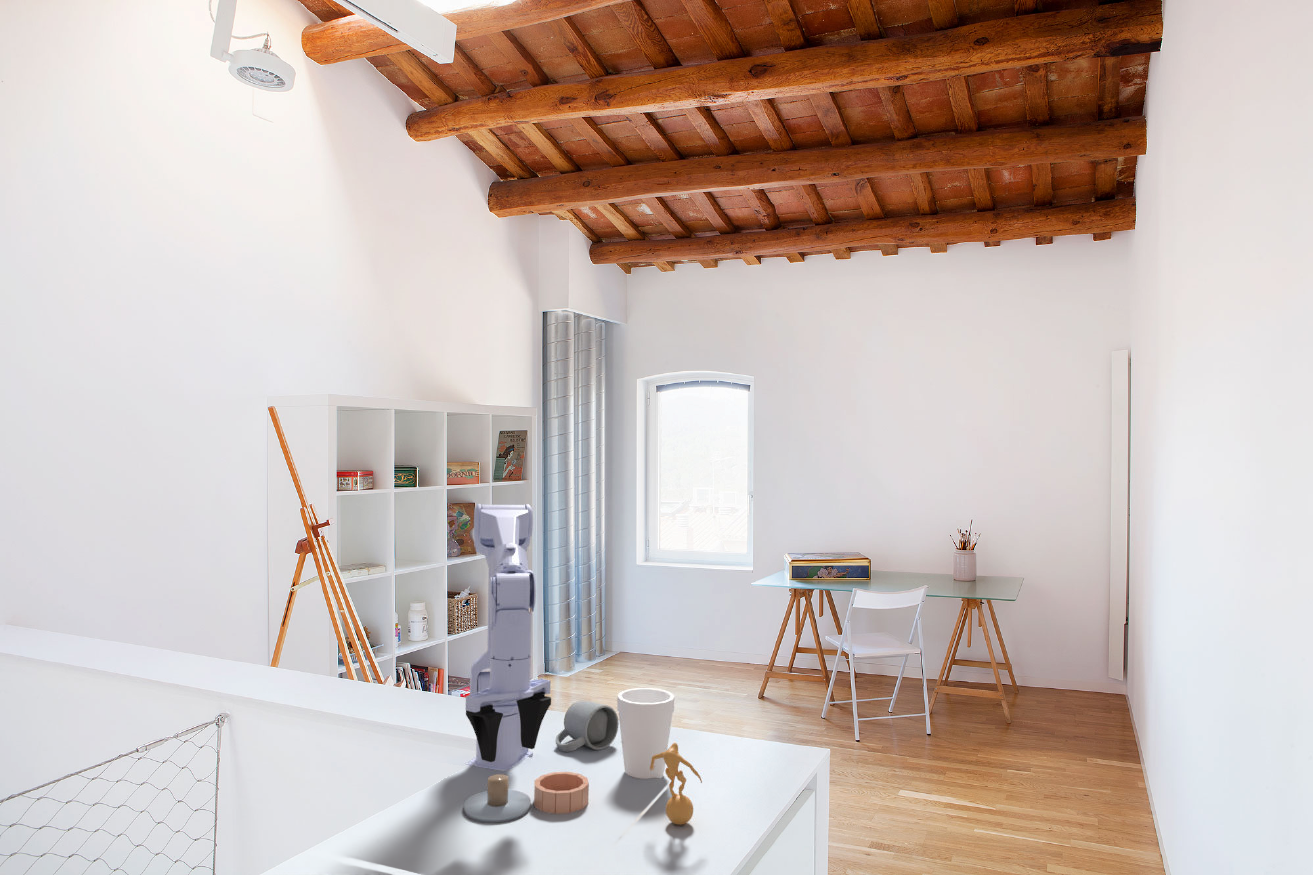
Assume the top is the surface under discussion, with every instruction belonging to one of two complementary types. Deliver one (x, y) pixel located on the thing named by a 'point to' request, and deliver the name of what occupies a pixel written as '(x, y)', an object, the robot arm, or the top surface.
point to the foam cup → (644, 729)
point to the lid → (497, 802)
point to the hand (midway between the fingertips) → (508, 753)
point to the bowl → (561, 792)
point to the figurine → (679, 805)
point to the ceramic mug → (588, 726)
